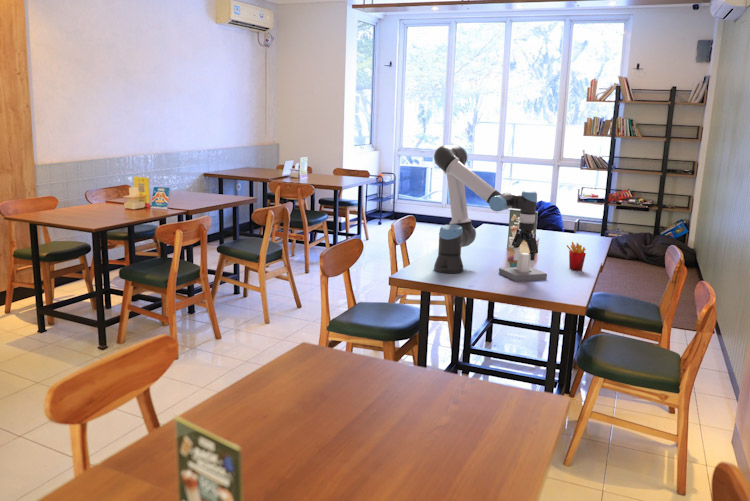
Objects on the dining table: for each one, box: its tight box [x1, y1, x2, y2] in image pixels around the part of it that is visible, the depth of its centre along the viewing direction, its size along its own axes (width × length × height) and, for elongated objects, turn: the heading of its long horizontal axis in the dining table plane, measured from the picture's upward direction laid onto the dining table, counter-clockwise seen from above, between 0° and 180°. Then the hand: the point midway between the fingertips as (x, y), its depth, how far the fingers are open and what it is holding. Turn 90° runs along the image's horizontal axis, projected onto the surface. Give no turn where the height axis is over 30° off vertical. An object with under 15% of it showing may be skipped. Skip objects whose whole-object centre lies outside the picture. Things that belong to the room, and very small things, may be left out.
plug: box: [517, 252, 529, 273], centre depth 325 cm, size 4×4×12 cm
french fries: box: [566, 241, 587, 272], centre depth 343 cm, size 9×8×15 cm
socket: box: [498, 266, 548, 282], centre depth 326 cm, size 18×16×3 cm
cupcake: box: [507, 246, 517, 267], centre depth 342 cm, size 9×8×12 cm
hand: (523, 263), depth 325 cm, fingers open, 13 cm apart
